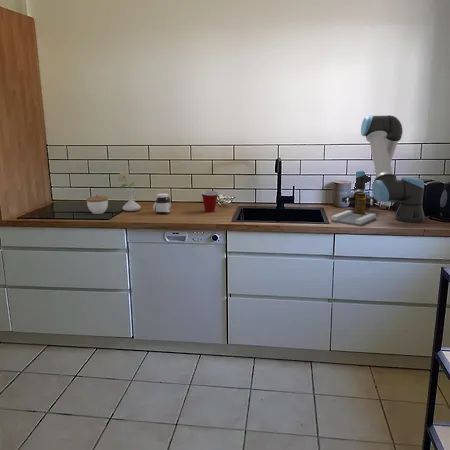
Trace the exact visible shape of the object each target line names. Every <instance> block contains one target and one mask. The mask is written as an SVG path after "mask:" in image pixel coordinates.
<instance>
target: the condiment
mask: <svg viewBox="0 0 450 450" xmlns="http://www.w3.org/2000/svg"><path fill="white" fill-rule="evenodd" d="M366 195H367V194H366V192H365V193H357V196H356V200H355V202H354V211H352V214H354V215H361V216H363V215H368V214H369V212H366V208H367V207H366V205H367V202H366V197H367V196H366Z"/></svg>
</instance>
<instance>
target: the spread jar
mask: <svg viewBox="0 0 450 450" xmlns="http://www.w3.org/2000/svg"><path fill="white" fill-rule="evenodd" d="M156 195H157V196H156V197H157V198H156V200H155V202H154V204H153V206H152V209H153V211H155V212H156V213H157V214H158V215H168V214H170V213H171V210H172V203H171V202H172V201H171V198H170V197H169V196H170V195H169V193H166V192H165V193H157V194H156Z"/></svg>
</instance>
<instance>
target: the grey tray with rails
mask: <svg viewBox="0 0 450 450" xmlns="http://www.w3.org/2000/svg"><path fill="white" fill-rule="evenodd" d="M352 212H353V210H349V209H348V210H344V211H342V212H339V213H336V214H334V215H331V216H330V217H331V218H330V222H333V223H339V224H345V225H351V226H357V225H358V227H359V226H360V227H361V225H362V226H363V225H366V224H369V223H370V222H372V221H375V220H376V216H377V214H376V213H368V214H365V215H356V214H352Z"/></svg>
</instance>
